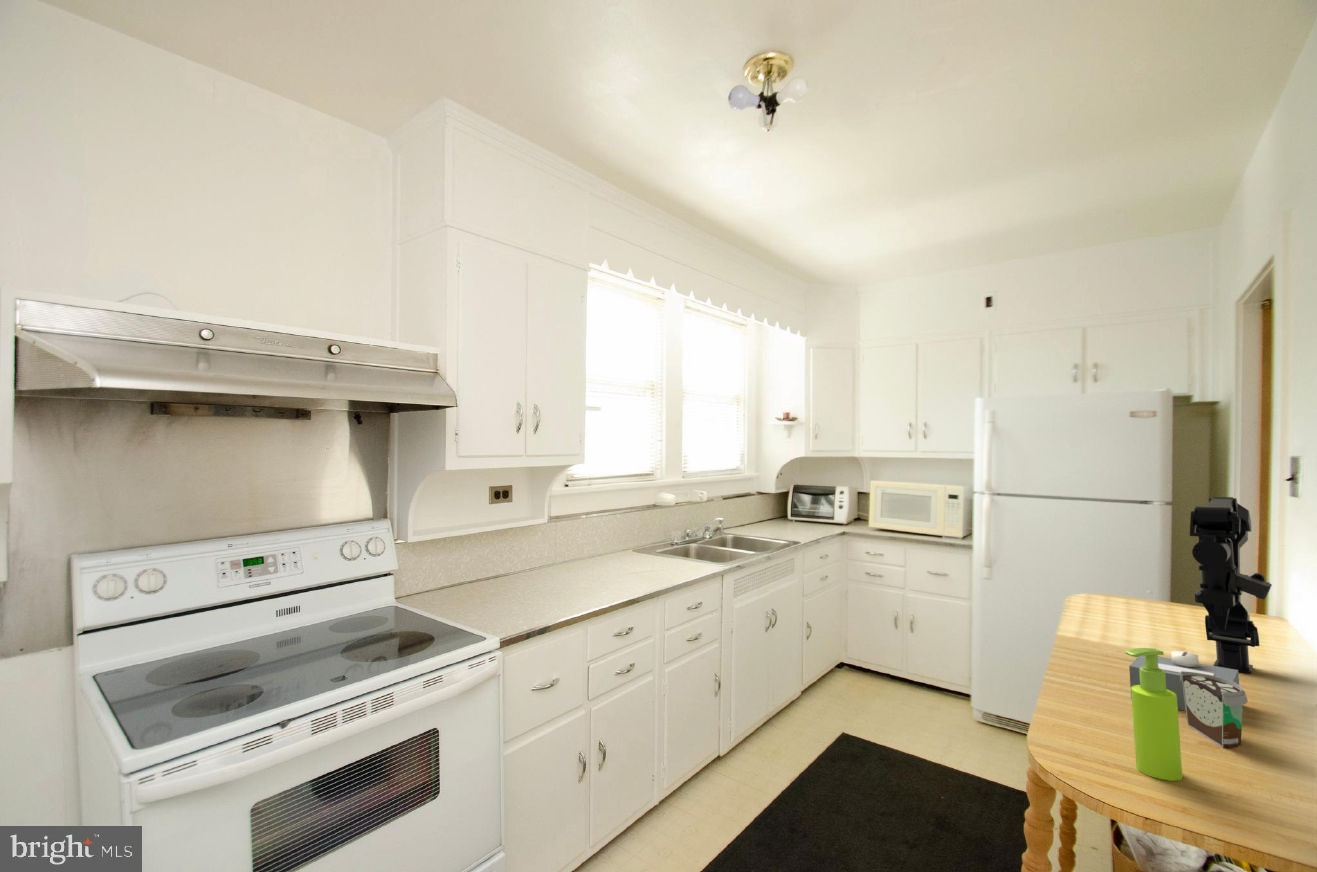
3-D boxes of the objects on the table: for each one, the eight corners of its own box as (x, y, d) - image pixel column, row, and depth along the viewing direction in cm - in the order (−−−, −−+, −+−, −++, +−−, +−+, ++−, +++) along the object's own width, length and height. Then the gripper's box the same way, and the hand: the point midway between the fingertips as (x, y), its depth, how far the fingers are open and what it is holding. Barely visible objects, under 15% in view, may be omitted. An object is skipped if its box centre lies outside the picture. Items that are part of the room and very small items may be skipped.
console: (1143, 684, 136) (1141, 652, 137) (1240, 704, 124) (1238, 669, 125) (1131, 698, 128) (1129, 664, 129) (1234, 721, 116) (1231, 684, 117)
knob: (1174, 677, 132) (1173, 649, 132) (1201, 682, 128) (1199, 653, 129) (1171, 682, 129) (1169, 653, 129) (1198, 687, 125) (1196, 658, 126)
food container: (1270, 754, 103) (1266, 695, 104) (1229, 752, 105) (1224, 694, 105) (1219, 724, 116) (1215, 671, 116) (1182, 722, 117) (1179, 670, 117)
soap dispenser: (1121, 764, 101) (1113, 645, 102) (1158, 761, 102) (1151, 643, 103) (1152, 782, 96) (1144, 655, 97) (1192, 779, 96) (1183, 653, 97)
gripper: (1263, 570, 125) (1268, 646, 124) (1270, 559, 137) (1275, 628, 136) (1192, 565, 133) (1197, 636, 132) (1204, 555, 145) (1209, 620, 144)
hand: (1221, 630), depth 136 cm, fingers closed
